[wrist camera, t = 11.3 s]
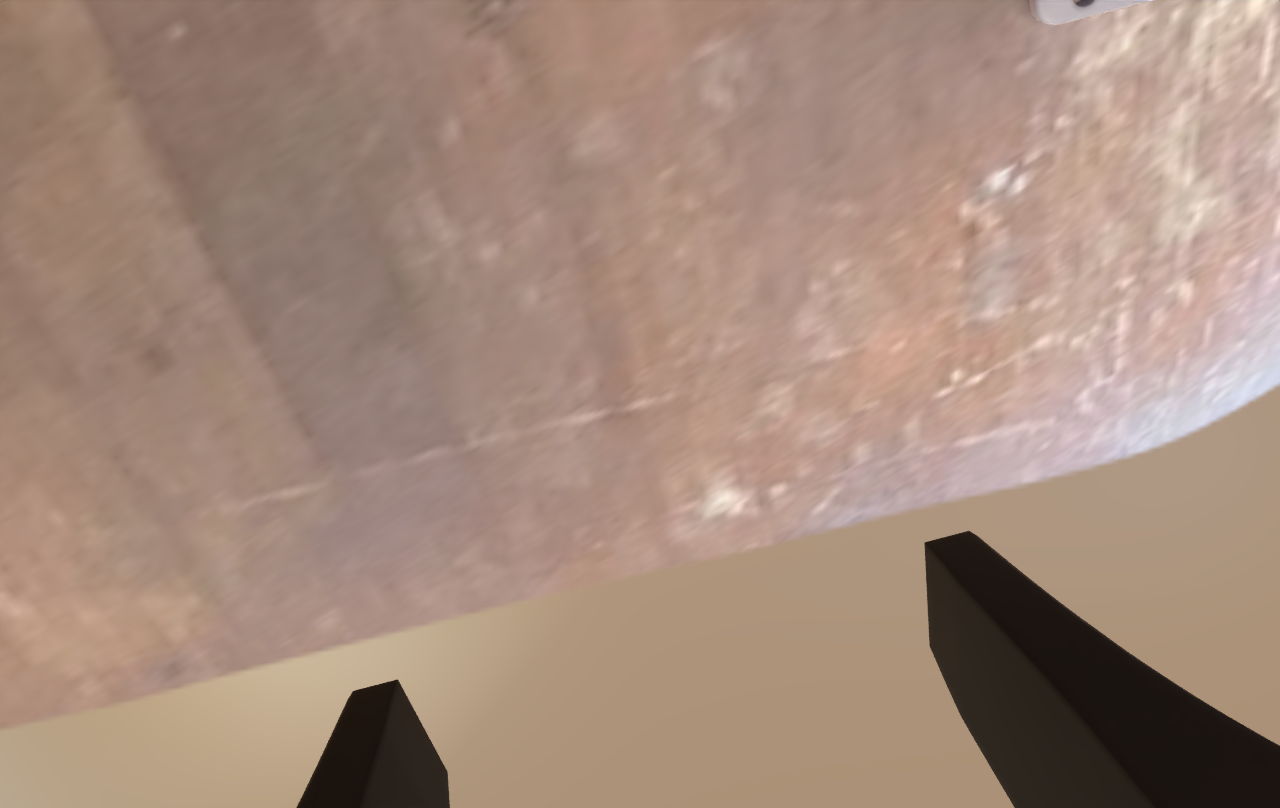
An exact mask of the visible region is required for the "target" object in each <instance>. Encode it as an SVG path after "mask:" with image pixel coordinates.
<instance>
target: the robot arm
mask: <svg viewBox="0 0 1280 808" xmlns="http://www.w3.org/2000/svg"><path fill="white" fill-rule="evenodd" d="M1150 1H1154V0H1080V1H1079V2H1077V3H1074V0H1028V3H1029V9H1030V12H1031V14H1032V15H1033V17H1034V18H1035V19H1036V20H1039V21H1041V22H1043V23H1046V24H1048V25H1060V24H1064V23H1068V22H1072V21H1076V20H1080V19H1084V18H1088V17H1092V16H1095V15H1099V14H1103V13H1107V12H1111V11H1115V10H1119V9H1123V8H1127V7H1131V6H1135V5H1138V4H1142V3H1146V2H1150ZM925 561H926V581H927V600H928V621H929V640H930V648H931V650H932V652H933V654H934V657H935V659H936V662H937V664H938V666H939V668H940V671H941V673H942V675H943V678H944V680H945V682H946V684H947V687H948V689H949V691H950V693H951V695H952V698H953V700H954V702H955V704H956V706H957V709H958V710H959V713H960V715H961V717H962V719H963V720H964V722H965V724H966V726H967V727H968V729H969V731H970V733H971V734H972V736H973V737H974V739H975V741H976V743H977V745H978V746H979V748H980V750H981V751H982V753H983V755H984V756H985V758H986V760H987V761H988V763H989V765H990V767H991V768H992V770H993V772H994V774H995V775H996V777H997V779H998V780H999V782H1000V784H1001V785H1002V787H1003V789H1004V790H1005V792H1006V794H1007V796H1008V797H1009V799H1010V800H1011V802H1012V804H1013V806H1014V807H1015V808H1280V746H1279V745H1277V744H1276V743H1274V742H1272V741H1270V740H1268V739H1266V738H1265V737H1263V736H1261V735H1259V734H1258V733H1256V732H1254V731H1252V730H1251V729H1249V728H1247V727H1245V726H1244V725H1242V724H1240V723H1238V722H1237V721H1235V720H1233V719H1232V718H1230V717H1228V716H1226V715H1225V714H1223V713H1222V712H1220V711H1218V710H1217V709H1215V708H1213V707H1212V706H1210V705H1208V704H1207V703H1205V702H1203V701H1202V700H1200V699H1199V698H1197V697H1195V696H1194V695H1192V694H1191V693H1189V692H1188V691H1186V690H1184V689H1183V688H1181V687H1180V686H1178V685H1177V684H1175V683H1174V682H1172V681H1170V680H1169V679H1167V678H1166V677H1164V676H1163V675H1161V674H1160V673H1158V672H1157V671H1155V670H1154V669H1152V668H1151V667H1149V666H1148V665H1146V664H1145V663H1143V662H1142V661H1140V660H1139V659H1137V658H1136V657H1135V656H1133V655H1132V654H1130V653H1129V652H1127V651H1126V650H1124V649H1123V648H1122V647H1120V646H1118V645H1117V644H1116V643H1114V642H1113V641H1112V640H1110V639H1109V638H1107V637H1106V636H1105V635H1103V634H1102V633H1101V632H1099V631H1098V630H1097V629H1095V628H1094V627H1092V626H1091V625H1090V624H1088V623H1087V622H1086V621H1084V620H1083V619H1081V618H1080V617H1079V616H1077V615H1076V614H1075V613H1073V612H1072V611H1070V610H1069V609H1068V608H1067V607H1065V606H1064V605H1063V604H1061V603H1060V602H1059V601H1057V600H1056V599H1055V598H1054V597H1052V596H1051V595H1050V594H1048V593H1047V592H1046V591H1045V590H1043V589H1042V588H1041V587H1039V586H1038V585H1037V584H1036V583H1034V582H1033V581H1032V580H1031V579H1029V578H1028V577H1027V576H1026V575H1024V574H1023V573H1022V572H1021V571H1019V570H1018V569H1017V568H1016V567H1014V566H1013V565H1012V564H1011V563H1009V562H1008V561H1007V560H1006V559H1005V558H1003V557H1002V556H1001V555H1000V554H999V553H997V552H996V551H995V550H994V549H992V548H991V547H990V546H989V545H988V544H986V543H985V542H984V541H983V540H982V539H980V538H979V537H978V536H977V535H975V534H973V533H972V532H970V531H967V532H963V533H959V534H955V535H952V536H948V537H944V538H940V539H936V540H932V541H929V542H925ZM448 789H449V788H448V774H447V770H446V769H445V766H444V765H443V763H442V761H441V759H440V757H439V755H438V754H437V752H436V750H435V748H434V746H433V744H432V742H431V740H430V739H429V737H428V735H427V733H426V731H425V729H424V728H423V726H422V724H421V722H420V720H419V718H418V716H417V715H416V712H415V711H414V709H413V707H412V705H411V703H410V701H409V700H408V698H407V696H406V694H405V692H404V690H403V688H402V687H401V685H400V683H399V681H398V680H394V681H390V682H386V683H382V684H379V685H375V686H371V687H367V688H363V689H359V690H356V691H353V692H352V694H351V696H350V697H349V698H348V700H347V702H346V705H345V707H344V709H343V711H342V713H341V715H340V717H339V720H338V722H337V724H336V726H335V728H334V730H333V733H332V735H331V737H330V739H329V741H328V743H327V746H326V748H325V750H324V752H323V754H322V756H321V758H320V760H319V763H318V765H317V767H316V769H315V771H314V773H313V775H312V777H311V779H310V781H309V783H308V785H307V787H306V790H305V792H304V794H303V796H302V798H301V800H300V802H299V804H298V806H297V808H450V804H449V790H448Z"/></svg>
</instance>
